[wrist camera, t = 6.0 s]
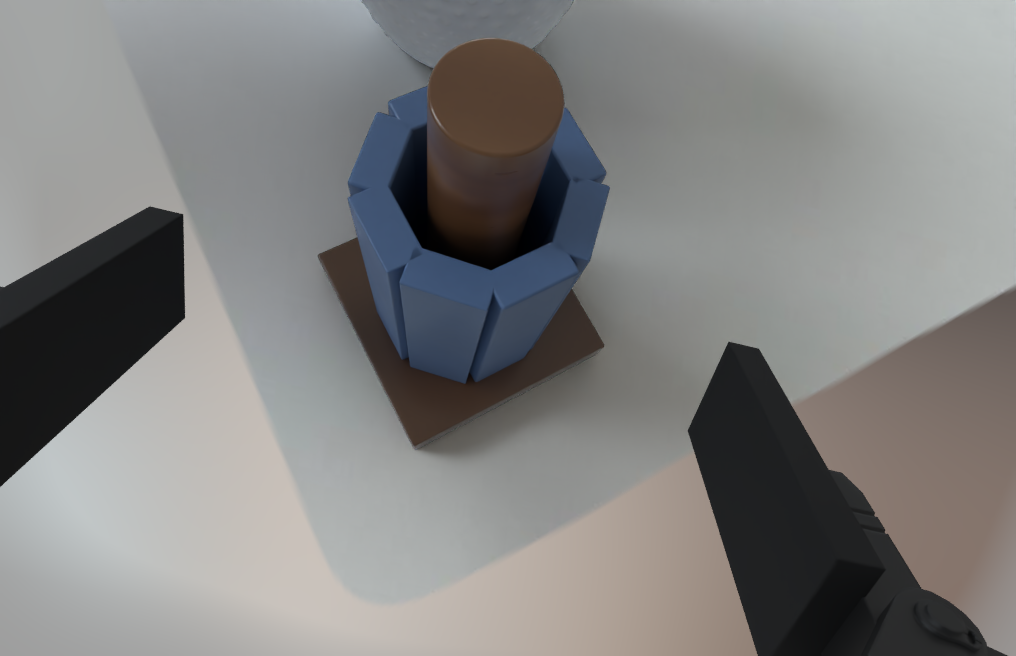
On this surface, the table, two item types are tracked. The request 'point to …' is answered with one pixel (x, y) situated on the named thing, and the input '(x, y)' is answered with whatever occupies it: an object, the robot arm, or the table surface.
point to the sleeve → (454, 283)
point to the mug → (463, 22)
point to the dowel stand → (473, 227)
